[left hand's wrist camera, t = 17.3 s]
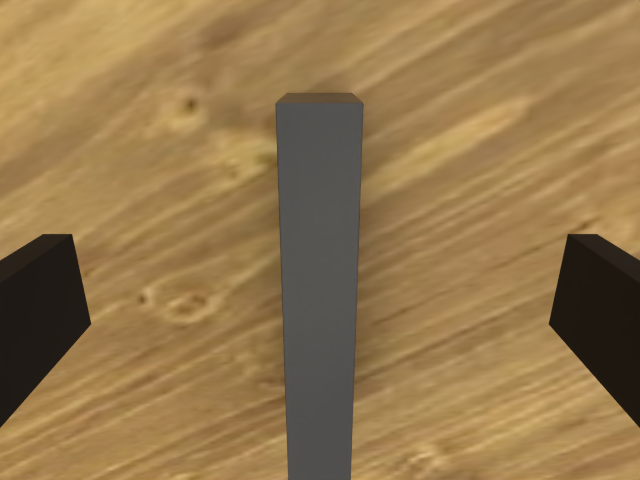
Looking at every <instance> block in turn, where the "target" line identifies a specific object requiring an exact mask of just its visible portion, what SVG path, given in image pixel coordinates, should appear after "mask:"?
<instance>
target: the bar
mask: <svg viewBox="0 0 640 480" xmlns="http://www.w3.org/2000/svg"><path fill="white" fill-rule="evenodd" d="M362 128H363V103H362V102H361V101H360V100H359V99H358V98H357V97H356V96H355V95H353V94H352V93H287V94H285V95H284V96H283V97H282V98H281V99H280V100H279V101H278V102H277V103H276V130H277V160H278V189H279V219H280V249H281V278H282V308H283V337H284V367H285V396H286V426H287V455H288V480H351V453H352V423H353V394H354V364H355V335H356V305H357V276H358V246H359V216H360V187H361V157H362Z"/></svg>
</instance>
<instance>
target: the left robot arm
mask: <svg viewBox="0 0 640 480" xmlns="http://www.w3.org/2000/svg"><path fill="white" fill-rule="evenodd" d="M90 325H91V321H90V316H89V311H88V307H87V302H86V297H85V293H84V288H83V283H82V279H81V274H80V269H79V265H78V260H77V255H76V250H75V246H74V241H73V236H72V234H43V235H41V236H39V237H38V238H36V239H34V240H33V241H31V242H30V243H28V244H26V245H25V246H23V247H22V248H20V249H18V250H17V251H15V252H13V253H12V254H10V255H9V256H7V257H5V258H4V259H2V260H0V428H1V426H2V425H3V424H4V423H5V422H6V421H7V420H8V418H9V417H10V416H11V415H12V414H13V413H14V412H15V410H16V409H17V408H18V407H19V406H20V405H21V404H22V402H23V401H24V400H25V399H26V398H27V397H28V396H29V394H30V393H31V392H32V391H33V390H34V389H35V388H36V387H37V385H38V384H39V383H40V382H41V381H42V380H43V379H44V377H45V376H46V375H47V374H48V373H49V372H50V371H51V369H52V368H53V367H54V366H55V365H56V364H57V363H58V361H59V360H60V359H61V358H62V357H63V356H64V355H65V353H66V352H67V351H68V350H69V349H70V348H71V347H72V345H73V344H74V343H75V342H76V341H77V340H78V339H79V338H80V336H81V335H82V334H83V333H84V332H85V331H86V330H87V328H88V327H89V326H90ZM549 325H550V326H551V327H552V328H553V330H554V331H555V332H556V333H557V334H558V335H559V336H560V338H561V339H562V340H563V341H564V342H565V343H566V344H567V345H568V347H569V348H570V349H571V350H572V351H573V352H574V353H575V355H576V356H577V357H578V358H579V359H580V360H581V361H582V363H583V364H584V365H585V366H586V367H587V368H588V369H589V371H590V372H591V373H592V374H593V375H594V376H595V377H596V379H597V380H598V381H599V382H600V383H601V384H602V385H603V387H604V388H605V389H606V390H607V391H608V392H609V393H610V394H611V396H612V397H613V398H614V399H615V400H616V401H617V402H618V404H619V405H620V406H621V407H622V408H623V409H624V410H625V412H626V413H627V414H628V415H629V416H630V417H631V418H632V420H633V421H634V422H635V423H636V424H637V425H638V426H639V428H640V260H638V259H636V258H635V257H633V256H631V255H630V254H628V253H627V252H625V251H623V250H622V249H620V248H618V247H617V246H615V245H614V244H612V243H610V242H609V241H607V240H606V239H604V238H602V237H601V236H599V235H597V234H568V236H567V241H566V246H565V250H564V255H563V260H562V265H561V269H560V274H559V279H558V283H557V288H556V293H555V297H554V302H553V307H552V311H551V316H550V321H549Z"/></svg>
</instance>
